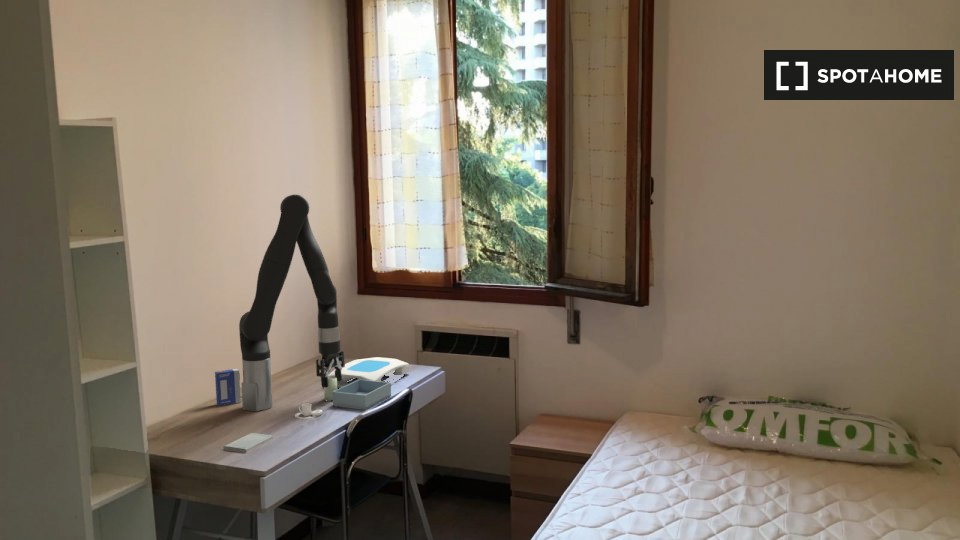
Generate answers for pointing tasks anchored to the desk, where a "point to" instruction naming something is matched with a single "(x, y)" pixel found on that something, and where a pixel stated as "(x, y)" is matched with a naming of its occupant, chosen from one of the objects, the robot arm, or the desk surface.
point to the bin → (361, 394)
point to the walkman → (227, 387)
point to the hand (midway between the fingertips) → (331, 383)
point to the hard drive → (248, 442)
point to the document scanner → (370, 369)
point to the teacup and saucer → (308, 411)
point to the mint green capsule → (330, 388)
